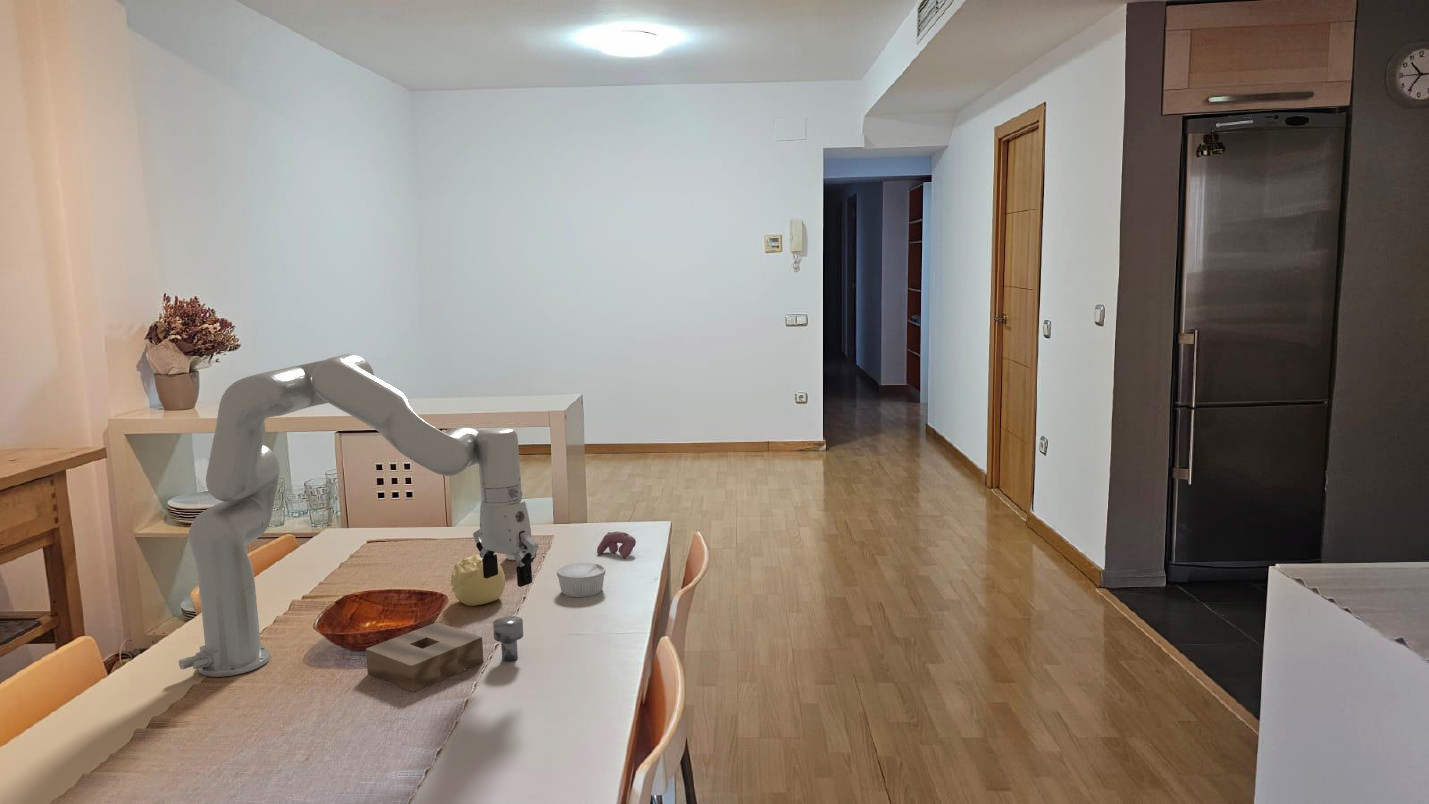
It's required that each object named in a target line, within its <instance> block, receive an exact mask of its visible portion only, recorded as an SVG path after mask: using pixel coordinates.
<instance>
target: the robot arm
mask: <svg viewBox="0 0 1429 804" xmlns="http://www.w3.org/2000/svg"><path fill="white" fill-rule="evenodd" d="M325 404H329V405H331V406H333V407H334V408H337V410H341V411H342V412H344V413H346V414H348V415H350V416H351V417H353V418H355V419H357V420H358V421H360V422H362V423H363V424H365V425H367V426H369V427H370V428H372V429H373V430H375V431H377V432H379V433H380V434H381V435H382V437H383V438H384V439H385V440H386V441H387V442H388V443H389V444H390V445H391V446H393V448H395V449H396V450H397V451H398V452H399V453H400V454H401V455H403V456H404V457H406V458H407V459H409V460H411V461H413V463H416V464H418V465H419V466H420V467H423V468H425V469H426V470H429V471H430V472H432V473H434V474H437V475H441V476H445V477H447V476H448V477H452V476H453V477H454V476H457V475H459V474H460V473H462V472H464V471H465V470H466V469H468V468H469V467H471V466H474V465H477V464H478V475H479V486H480V497H481V500H480V507H479V529H477V530H476V531H474V532H473V533H472V536H473V539H474V542H475V546H476V548H477V550H478V551H479V556H480V557H481V558H483V559H482V563H483V576H484V578H486V579H487V578H490V577H492V576H495V575H497V574H498V563H499V562H498V555H497V554H495V553H498V554H503V555H505V556H506V555H513V556H514V558H515V560H514V561H516V563H517V564H518V565H517V566H516V567H515V568H516V569H515V570H516V581H517V582H516V584H517V587H519V588H522V587H525V586H528V585H529V584H532V583H533V575H532V574H533V572H532V571H533V570H532V564H533V563H534V560H535V559H536V557H537V552H538V548H539V543H537V542H536V541H535V540H534V538H532V528H531V522H530V518H529V511H528V506H527V503H526V504H525V501H526V500H525V501H524V499H523V491H522V482H521V481H522V480H521V464H520V452H519V439H518V434H517V432H516V431H515V429H512V428H508V427H497V428H496V427H495V428H488V429H481V428H472V427H456V428H453V429H451V430H449V431H448V432H444V431H442V430H440V429H439V428H437V427H435V426H433V425H432V424H430V423H428V422H426V421H425V420H424V419H422V418H421V417H420V416H418V414H416V412H415V411H414V410H413V409H412V407H411V404H410V402H409V399H408V396H407V395H406V394H405V393H404V392H403V391H401V390H400V389H398V388H396V387H394V386H393V385H391V384H389V383H387V382H385V381H384V380H382V379H380V378H378V377H377V376H375V373H374V370H373V368H372V366H371V365H370V364H369V362H368V361H367V360H366V359H364V358H363V357H361V356H359V355H356V354H349V353H348V354H342V355H337V356H333V357H330V358H327V359H323V360H318V361H313V362H309V363H303V364H299V365H294V366H288V367H283V368H279V369H275V370H270V371H265V372H261V373H257V374H253V375H249V376H246V377H244V378H239V379H238V380H236V381H234V382H233V383H232V384H231V385H229V386H228V387H227V388H226V390H225V391H224V392H223V395H222V396H221V399H220V402H219V405H218V411H217V419H216V424H215V431H214V435H213V438H212V444H211V449H210V453H209V454H210V455H209V459H208V460H209V461H208V465H207V470H206V476H205V485H206V489H207V491H208V493H209V494H210V495H211V497H213V498H214V499H216V500H218V501H221V502H219V503H217V504H215V505H213V506H210V507H209V508H207V509H205V510H203V511H202V512H200V514H198V515H197V516H196V517H195V518H194V519H193V520H192V521H191V525H190V527H189V529H188V543H189V546H190V551H191V553H192V557H193V560H194V562H195V567H196V568H195V569H196V574H197V575H196V576H197V580H198V581H197V582H198V590H199V598H200V609H201V617H202V628H203V636H204V637H203V638H204V645H202V646H199V651H198V652H196V653H195V655H192V656H187V657H183V658H181V659H179V661H178V666H179V669H180V670H186V669H188V668H189V669H190V668H191V667H192V668H193V670H197V671H198V672H199V673H200V675H203V676H206V677H213V678H217V677H218V678H220V677H231V676H236V675H241V674H245V673H247V672H248V673H249V672H251V671H254V670H256V669H259V668H261V667H263V666H264V665H266V664H267V663H268V662H269V661H270V659H271V651H270V650H269V649H268V648H266V647H264V646H261V645H262V644H261V636H260V635H261V633H260V632H261V631H260V624H259V622H260V621H259V611H258V603H257V589H256V582H255V573H254V568H253V564H252V561H251V559H250V556H249V555H248V552H247V549H246V548H247V547H246V546H247V545H248V544H250V543H253V541H255V540H257V539H258V538H259V537H261V536H262V535H263V534H264V533H265V532H266V531H267V529H268V527H269V525H270V522H271V520H272V515H273V511H274V506H275V500H276V495H277V490H278V484H279V480H280V474H281V473H280V470H281V469H280V462H279V461H278V460H279V459H278V457H277V456H276V454H275V452H274V451H273V450H271V448H270V447H268V446H267V445H265V444H264V443H265V438H266V425H265V424H266V423H265V420H266V419H269V418H274V417H275V418H276V417H280V416H281V417H282V416H284V415H288V414H291V413H295V412H298V411H300V410H304V409H307V408H308V409H309V408H311V407H315V406H320V405H325ZM526 506H527V507H526ZM517 549H519V550H517ZM522 553H523V555H524V557H523V558H522V557H521V556H520V554H522Z"/></svg>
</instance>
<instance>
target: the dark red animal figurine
mask: <svg viewBox="0 0 1429 804" xmlns="http://www.w3.org/2000/svg"><path fill="white" fill-rule="evenodd" d="M618 544H621V545H620V546H618ZM636 544H637V541H636V538H635V537H633V536H632V535H631V534H629V533H627V532H623V531H618V530H617V531H611V532H610V531H608V532H607V533H606V534H605V535H604V536H603V538H602V539H601V541H600V543H599V544H598V546H597V549H596V553H597V554H598V555H602V554H603V553H604V552H605V551H606V550H607V549H608V550H609V552H610V553H612V552H616V553H617V552H618V553H619V554H621V555H622V556H621V557H622V559H624V560H625V559H628V558H629V557H630V555H631V553H633V549H634V548H635V546H636ZM601 553H602V554H601Z"/></svg>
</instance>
